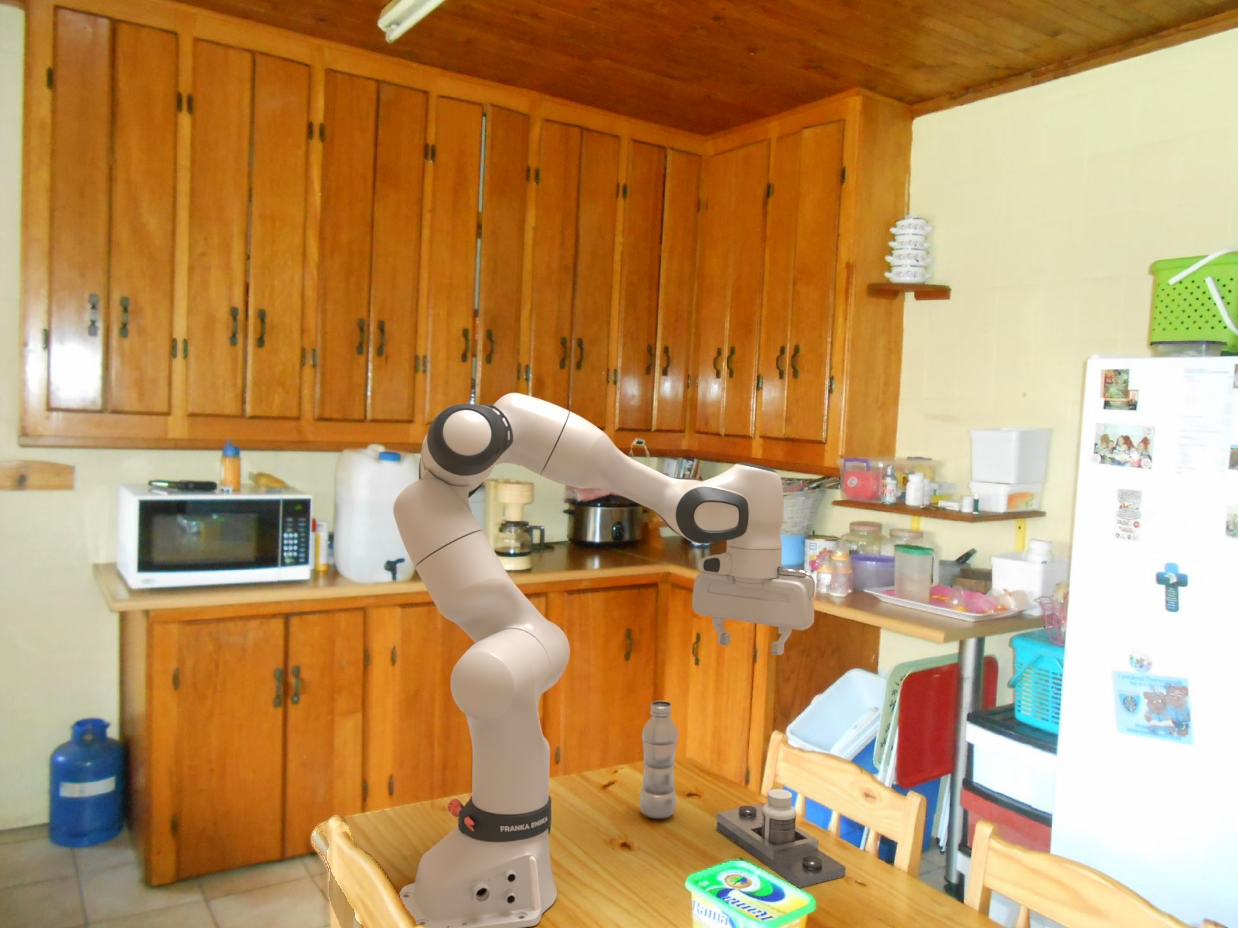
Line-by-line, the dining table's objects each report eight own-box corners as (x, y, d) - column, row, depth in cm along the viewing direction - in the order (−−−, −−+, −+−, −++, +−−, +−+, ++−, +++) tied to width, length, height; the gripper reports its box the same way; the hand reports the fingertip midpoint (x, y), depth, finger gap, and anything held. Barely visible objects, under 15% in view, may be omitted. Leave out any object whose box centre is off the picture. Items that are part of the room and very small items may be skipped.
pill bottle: (801, 853, 152) (803, 794, 152) (780, 863, 148) (782, 802, 148) (774, 841, 156) (777, 784, 156) (753, 850, 153) (756, 791, 152)
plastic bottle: (682, 813, 166) (686, 702, 165) (663, 827, 160) (668, 712, 159) (651, 804, 169) (655, 695, 169) (631, 817, 164) (635, 704, 163)
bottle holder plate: (799, 888, 141) (800, 863, 140) (716, 829, 160) (717, 807, 160) (845, 876, 145) (846, 852, 145) (759, 820, 164) (760, 799, 164)
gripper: (822, 569, 148) (818, 655, 148) (707, 555, 159) (704, 636, 159) (807, 573, 142) (803, 663, 143) (689, 559, 153) (686, 642, 154)
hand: (750, 649), depth 151 cm, fingers open, 8 cm apart
